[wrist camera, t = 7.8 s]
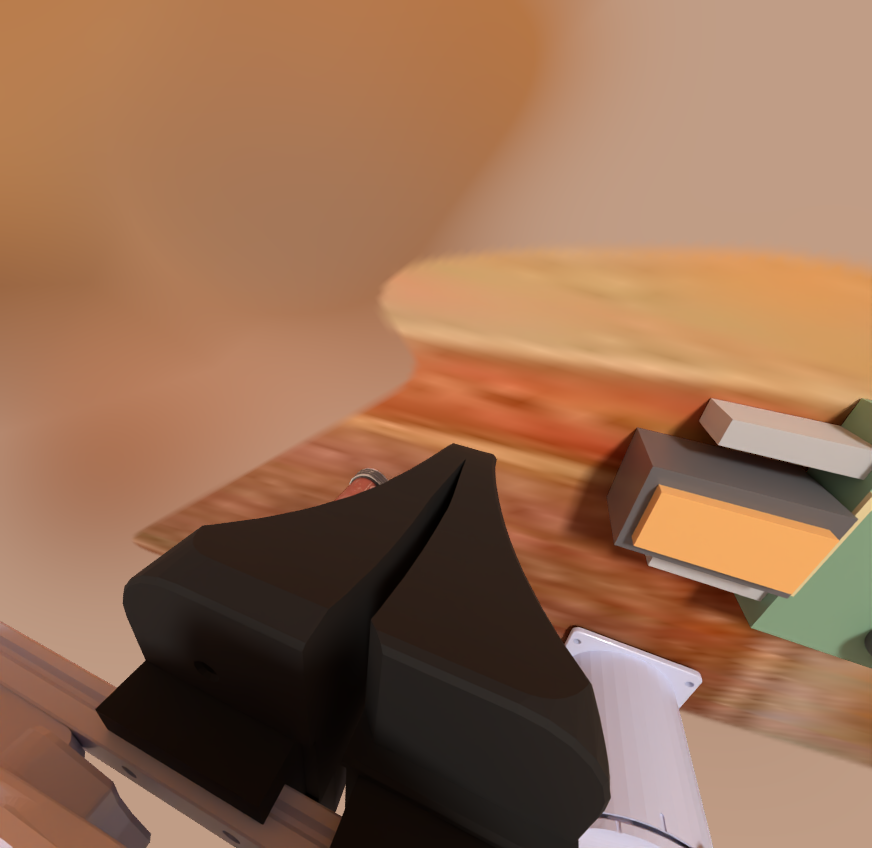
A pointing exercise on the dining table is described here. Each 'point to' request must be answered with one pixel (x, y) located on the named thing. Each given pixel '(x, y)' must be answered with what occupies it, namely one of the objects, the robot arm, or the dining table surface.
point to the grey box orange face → (723, 512)
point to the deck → (845, 564)
